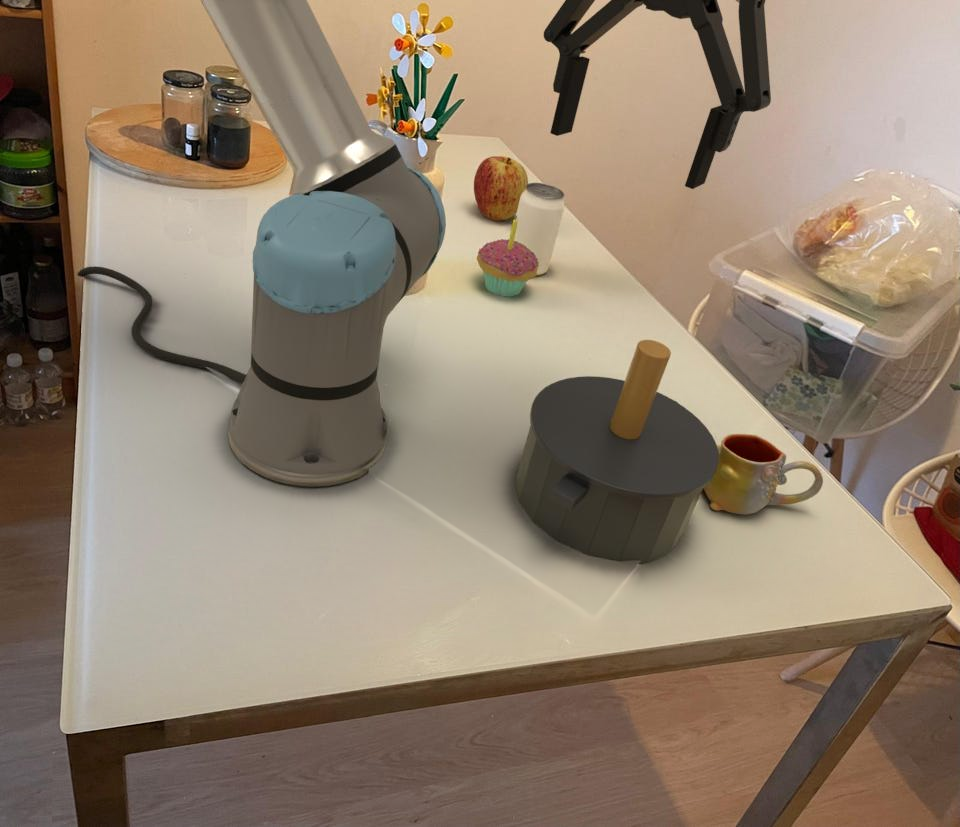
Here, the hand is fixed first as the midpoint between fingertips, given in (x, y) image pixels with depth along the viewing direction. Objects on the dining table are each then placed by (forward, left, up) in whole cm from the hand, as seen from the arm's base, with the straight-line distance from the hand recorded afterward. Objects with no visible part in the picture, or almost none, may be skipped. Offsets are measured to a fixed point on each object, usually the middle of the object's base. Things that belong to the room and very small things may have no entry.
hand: (625, 158), depth 75 cm
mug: (+22, +7, -31) cm, 39 cm away
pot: (+10, -6, -31) cm, 33 cm away
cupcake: (-22, +24, -31) cm, 45 cm away
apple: (-38, +46, -31) cm, 67 cm away
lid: (+10, -6, -22) cm, 25 cm away
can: (-24, +34, -31) cm, 52 cm away
